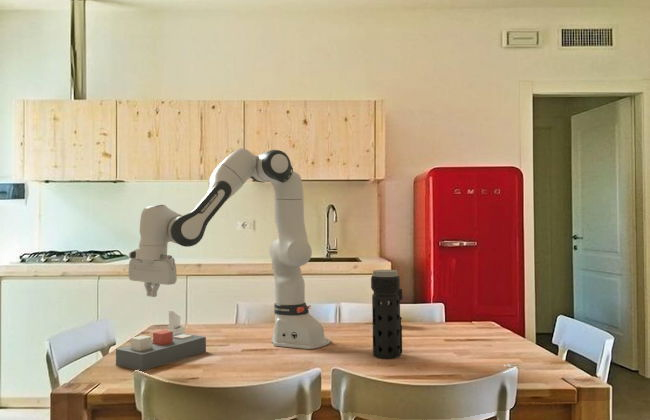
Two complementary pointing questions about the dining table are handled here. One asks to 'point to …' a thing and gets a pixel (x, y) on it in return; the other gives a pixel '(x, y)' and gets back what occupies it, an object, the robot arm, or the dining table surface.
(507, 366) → the paper
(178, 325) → the white angled block
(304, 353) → the dining table surface
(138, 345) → the white button left
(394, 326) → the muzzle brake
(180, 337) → the white button right
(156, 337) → the red button
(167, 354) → the button console
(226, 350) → the dining table surface
